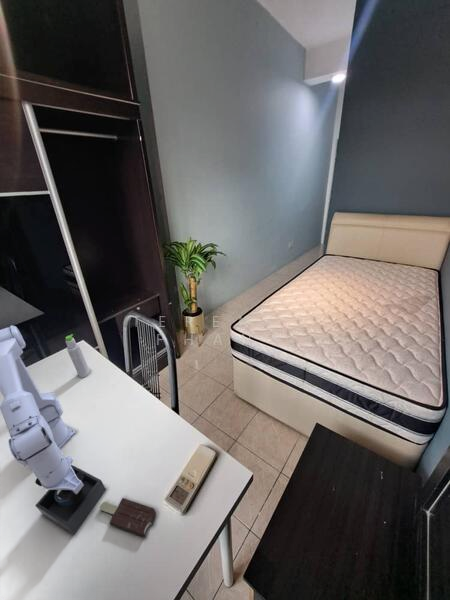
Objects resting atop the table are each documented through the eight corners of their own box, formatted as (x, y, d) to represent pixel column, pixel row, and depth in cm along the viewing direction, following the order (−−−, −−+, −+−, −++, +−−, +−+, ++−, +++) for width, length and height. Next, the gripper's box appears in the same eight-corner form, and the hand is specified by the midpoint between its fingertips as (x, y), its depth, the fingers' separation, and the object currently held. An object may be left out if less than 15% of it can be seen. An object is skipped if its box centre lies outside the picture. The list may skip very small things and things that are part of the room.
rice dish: (53, 502, 63) (49, 496, 61) (72, 479, 67) (68, 473, 66) (69, 512, 61) (64, 506, 59) (88, 487, 65) (84, 481, 64)
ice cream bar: (94, 519, 62) (147, 538, 58) (92, 516, 61) (146, 535, 58) (108, 495, 66) (158, 511, 63) (106, 492, 66) (157, 508, 62)
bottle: (91, 373, 107) (76, 336, 97) (81, 379, 104) (64, 341, 94) (87, 368, 110) (72, 332, 100) (77, 374, 107) (60, 337, 97)
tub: (43, 514, 63) (35, 505, 61) (76, 473, 72) (70, 464, 69) (74, 535, 59) (66, 526, 57) (106, 489, 68) (100, 479, 65)
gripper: (86, 457, 57) (102, 487, 64) (44, 436, 62) (63, 466, 69) (58, 490, 52) (79, 519, 58) (14, 464, 57) (38, 493, 63)
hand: (69, 492), depth 63 cm, fingers closed on rice dish, 5 cm apart
